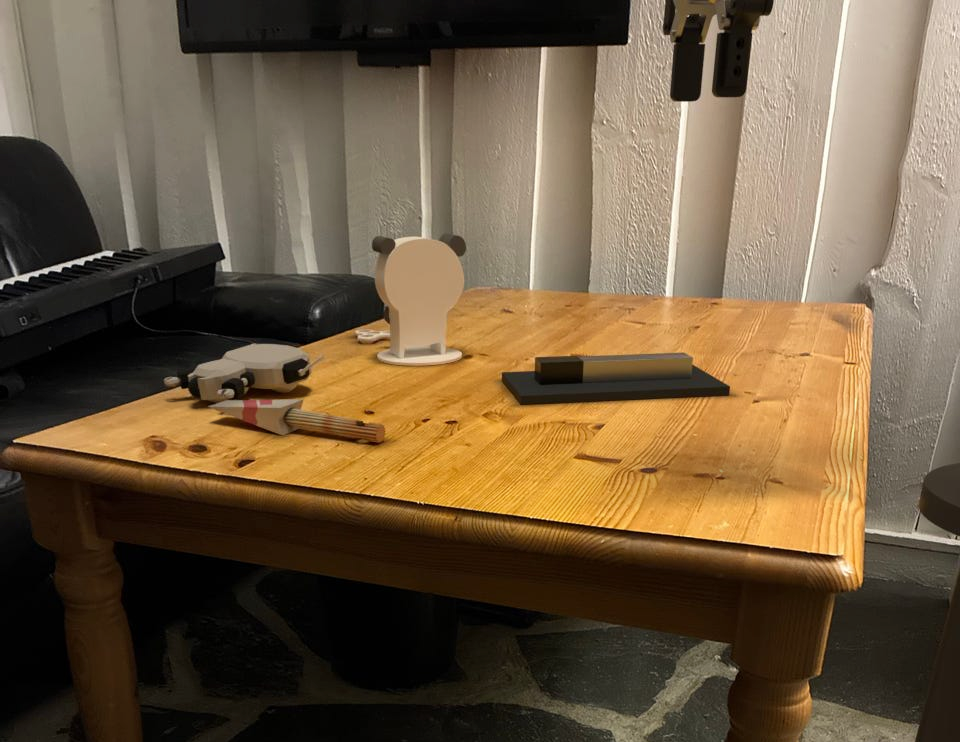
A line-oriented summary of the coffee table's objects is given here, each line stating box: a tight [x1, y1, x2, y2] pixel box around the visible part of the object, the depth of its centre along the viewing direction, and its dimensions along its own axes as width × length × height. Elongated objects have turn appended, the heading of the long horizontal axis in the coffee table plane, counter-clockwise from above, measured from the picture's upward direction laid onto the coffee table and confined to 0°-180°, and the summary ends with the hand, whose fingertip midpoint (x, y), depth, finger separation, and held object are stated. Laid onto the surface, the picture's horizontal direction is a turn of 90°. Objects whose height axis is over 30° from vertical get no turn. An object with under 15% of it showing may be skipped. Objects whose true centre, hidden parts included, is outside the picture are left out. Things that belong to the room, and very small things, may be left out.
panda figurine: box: [371, 233, 467, 367], centre depth 122 cm, size 12×11×15 cm
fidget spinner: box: [354, 329, 390, 343], centre depth 137 cm, size 7×6×1 cm
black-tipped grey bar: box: [534, 351, 694, 385], centre depth 108 cm, size 18×3×2 cm, turn 99°
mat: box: [501, 364, 731, 406], centre depth 109 cm, size 24×12×1 cm, turn 99°
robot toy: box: [163, 343, 325, 404], centre depth 106 cm, size 12×4×15 cm
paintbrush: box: [207, 398, 386, 444], centre depth 93 cm, size 4×3×20 cm
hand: (705, 99), depth 68 cm, fingers open, 8 cm apart
